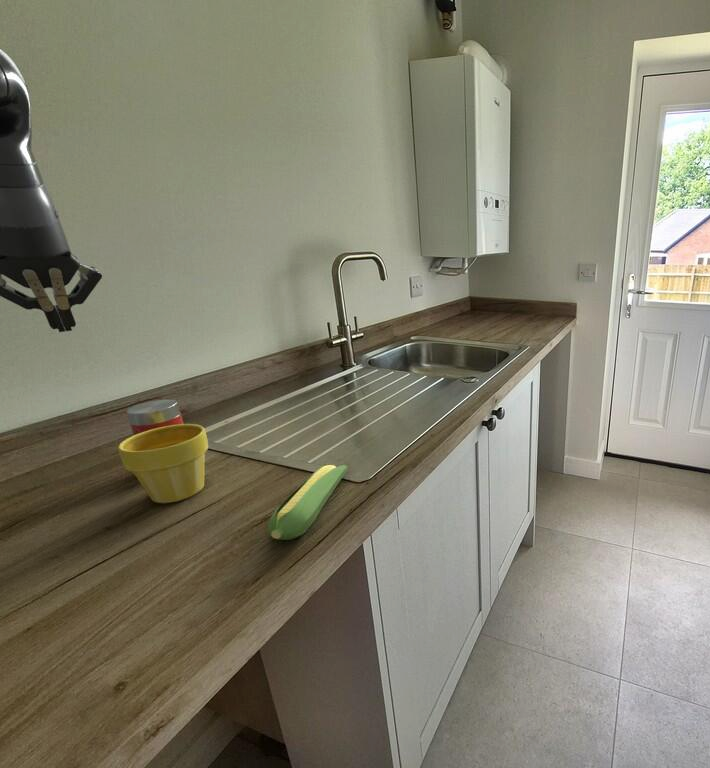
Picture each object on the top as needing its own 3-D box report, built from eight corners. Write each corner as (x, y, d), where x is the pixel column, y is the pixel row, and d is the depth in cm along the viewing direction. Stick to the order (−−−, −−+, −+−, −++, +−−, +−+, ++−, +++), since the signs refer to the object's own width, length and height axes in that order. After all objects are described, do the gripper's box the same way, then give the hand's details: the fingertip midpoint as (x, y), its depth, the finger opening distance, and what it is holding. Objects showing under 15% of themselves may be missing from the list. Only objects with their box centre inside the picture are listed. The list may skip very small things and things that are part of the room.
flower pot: (211, 468, 73) (197, 417, 69) (225, 491, 66) (210, 436, 63) (134, 491, 66) (115, 436, 63) (140, 520, 59) (119, 460, 56)
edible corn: (259, 551, 53) (252, 521, 51) (329, 470, 72) (325, 447, 70) (299, 551, 52) (293, 521, 51) (358, 470, 71) (355, 447, 70)
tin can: (150, 479, 69) (129, 417, 65) (142, 466, 73) (122, 406, 70) (198, 464, 74) (181, 405, 70) (189, 452, 78) (172, 396, 74)
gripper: (80, 209, 62) (114, 313, 71) (-62, 207, 53) (-3, 326, 62) (92, 224, 59) (126, 331, 68) (-59, 225, 49) (4, 349, 58)
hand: (64, 329), depth 65 cm, fingers closed
